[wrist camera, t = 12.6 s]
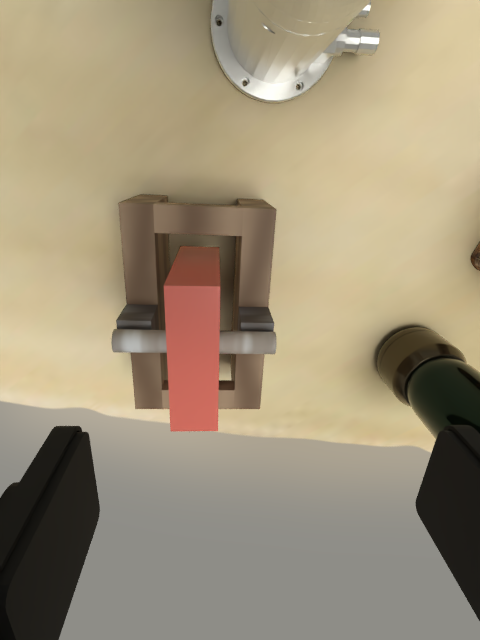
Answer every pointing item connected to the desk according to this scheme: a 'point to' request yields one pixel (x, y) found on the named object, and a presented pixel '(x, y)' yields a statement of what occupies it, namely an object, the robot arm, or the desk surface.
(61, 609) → the robot arm
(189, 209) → the tan hollow frame
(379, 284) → the desk surface
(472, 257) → the book
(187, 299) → the red arch block
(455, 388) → the lamp
